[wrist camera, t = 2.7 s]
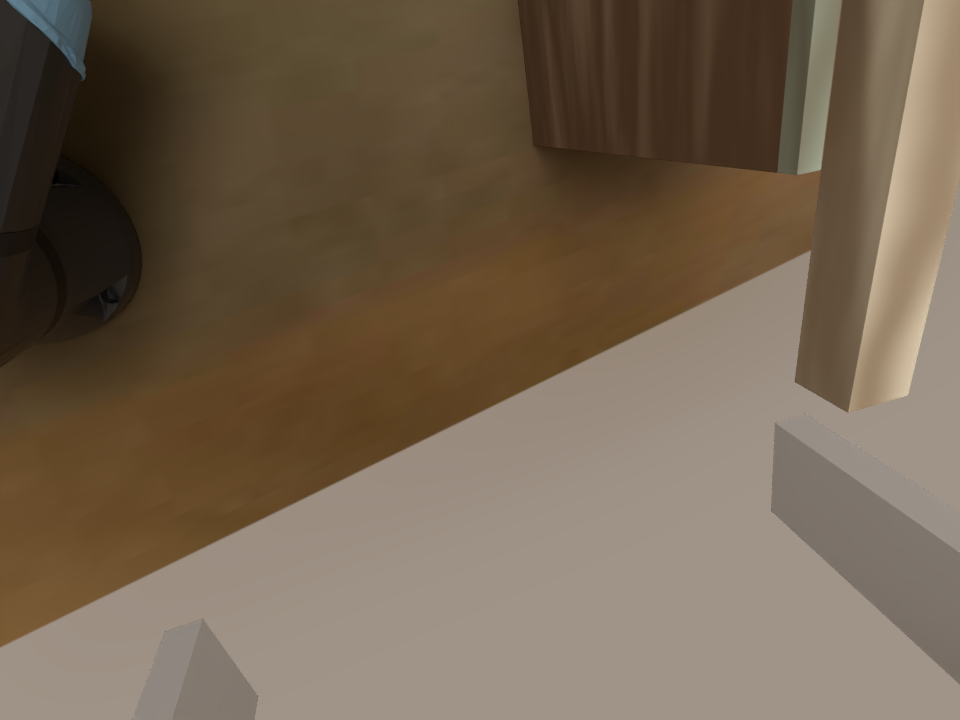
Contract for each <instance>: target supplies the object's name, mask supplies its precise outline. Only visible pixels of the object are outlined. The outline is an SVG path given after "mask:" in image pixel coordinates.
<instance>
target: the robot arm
mask: <svg viewBox="0 0 960 720" xmlns="http://www.w3.org/2000/svg"><path fill="white" fill-rule="evenodd" d="M91 21H92V7H91V3H90V0H0V368H1V367H2V366H3V365H5V364H6V363H8V362H9V361H10V360H12V359H13V358H15V357H16V356H18V355H19V354H20V353H22V352H23V351H25V350H26V349H27V348H29V347H30V346H32V345H33V344H41V343H49V342H56V341H63V340H68V339H72V338H76V337H79V336H82V335H84V334H87V333H89V332H91V331H93V330H95V329H97V328H99V327H100V326H102V325H103V324H105V323H106V322H107V321H109V320H110V319H111V318H112V317H114V316H115V315H116V314H117V313H119V312H120V311H121V310H122V309H123V308H124V307H125V306H126V304H127V303H128V302H129V300H130V299H131V297H132V296H133V294H134V292H135V290H136V287H137V285H138V282H139V278H140V273H141V251H140V245H139V241H138V237H137V234H136V231H135V229H134V227H133V224H132V222H131V220H130V218H129V217H128V215H127V213H126V211H125V210H124V208H123V207H122V206H121V204H120V203H119V202H118V200H117V199H116V198H115V197H114V195H113V194H112V193H111V192H110V191H109V190H108V189H107V188H106V187H105V186H104V185H103V184H102V183H101V182H100V181H98V180H97V179H96V178H95V177H94V176H92V175H91V174H90V173H88V172H87V171H86V170H84V169H83V168H81V167H80V166H78V165H76V164H75V163H73V162H71V161H69V160H68V159H66V158H64V157H62V156H60V152H61V148H62V145H63V141H64V137H65V134H66V130H67V127H68V123H69V119H70V116H71V112H72V108H73V105H74V101H75V97H76V94H77V90H78V87H79V83H80V82H81V81H83V80H84V79H85V76H86V74H85V70H86V68H85V65H84V63H83V60H84V55H85V50H86V45H87V40H88V35H89V30H90V26H91ZM771 502H772V503H771V511H772V512H773V513H774V514H775V515H776V516H777V517H778V518H779V519H781V520H782V521H783V522H784V523H785V524H786V525H787V526H788V527H789V528H790V529H791V530H792V531H793V532H795V533H796V534H797V535H798V536H799V537H800V538H801V539H802V540H803V541H804V542H805V543H807V544H808V545H809V546H810V547H811V548H812V549H813V550H814V551H815V552H816V553H817V554H819V555H820V556H821V557H822V558H823V559H824V560H825V561H826V562H827V563H828V564H829V565H831V566H832V567H833V568H834V569H835V570H836V571H837V572H838V573H839V574H840V575H841V576H842V577H844V578H845V579H846V580H847V581H848V582H849V583H850V584H851V585H852V586H853V587H854V588H855V589H857V590H858V591H859V592H860V593H861V594H862V595H863V596H864V597H865V598H866V599H867V600H869V601H870V602H871V603H872V604H873V605H874V606H875V607H876V608H877V609H878V610H879V611H880V612H882V613H883V614H884V615H885V616H886V617H887V618H888V619H889V620H890V621H891V622H893V623H894V624H895V625H896V626H897V627H898V628H899V629H901V631H902V632H904V634H905V635H907V636H908V637H909V638H910V639H911V640H912V641H913V642H914V643H915V644H917V646H919V647H920V648H921V649H922V650H923V651H924V652H925V653H926V654H927V655H929V656H930V657H931V658H932V659H933V660H934V661H935V662H936V663H937V664H938V665H939V666H940V667H942V669H944V670H945V671H946V672H947V673H948V674H949V675H950V676H951V677H952V678H953V679H954V680H956V681H957V682H958V683H959V684H960V511H958V510H957V509H955V508H954V507H952V506H951V505H949V504H947V503H946V502H944V501H943V500H941V499H940V498H938V497H936V496H935V495H933V494H932V493H930V492H929V491H927V490H925V489H924V488H922V487H921V486H919V485H918V484H916V483H914V482H913V481H911V480H910V479H908V478H906V477H905V476H903V475H902V474H900V473H899V472H897V471H895V470H894V469H892V468H891V467H889V466H888V465H886V464H884V463H882V462H881V461H880V460H878V459H877V458H875V457H873V456H872V455H870V454H869V453H867V452H865V451H864V450H862V449H861V448H859V447H857V446H856V445H855V444H853V443H851V442H850V441H848V440H847V439H845V438H843V437H842V436H840V435H839V434H837V433H836V432H834V431H832V430H831V429H829V428H828V427H826V426H824V425H823V424H821V423H820V422H818V421H817V420H815V419H814V418H812V417H810V416H809V415H807V414H806V413H802V414H799V415H796V416H793V417H790V418H787V419H785V420H782V421H779V422H776V423H775V432H774V456H773V478H772V501H771ZM257 700H258V695H257V694H256V693H255V691H254V690H253V688H252V687H251V685H250V684H249V683H248V682H247V680H246V678H245V677H244V676H243V674H242V673H241V672H240V670H239V669H238V667H237V666H236V664H235V663H234V662H233V660H232V659H231V657H230V656H229V655H228V653H227V652H226V651H225V649H224V648H223V646H222V645H221V644H220V642H219V641H218V639H217V638H216V636H215V635H214V634H213V632H212V631H211V629H210V628H209V627H208V626H207V624H206V622H205V621H204V620H203V619H200V620H197V621H194V622H191V623H188V624H186V625H182V626H179V627H177V628H174V629H171V630H168V631H165V632H164V635H163V638H162V640H161V643H160V646H159V649H158V651H157V654H156V657H155V659H154V662H153V665H152V667H151V670H150V673H149V676H148V678H147V681H146V683H145V686H144V689H143V692H142V694H141V697H140V700H139V702H138V705H137V708H136V710H135V713H134V716H133V718H132V720H254V717H255V712H256V706H257Z"/></svg>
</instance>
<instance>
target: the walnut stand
mask: <svg viewBox="0 0 960 720" xmlns="http://www.w3.org/2000/svg"><path fill="white" fill-rule="evenodd" d="M842 2H843V0H518V5H519V15H520V24H521V33H522V42H523V52H524V61H525V70H526V79H527V89H528V98H529V107H530V116H531V126H532V135H533V144H534V145H536V146H545V147H554V148H563V149H571V150H580V151H589V152H598V153H607V154H616V155H625V156H633V157H642V158H651V159H660V160H669V161H678V162H687V163H696V164H704V165H713V166H722V167H731V168H740V169H749V170H758V171H766V172H775V173H784V174H793V175H799V174H804V173H808V172H813V171H817V170H821V163H822V161H823V153H824V145H825V137H826V129H827V121H828V113H829V105H830V97H831V89H832V81H833V73H834V65H835V57H836V49H837V42H838V34H839V26H840V18H841V10H842Z"/></svg>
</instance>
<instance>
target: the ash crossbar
mask: <svg viewBox="0 0 960 720" xmlns="http://www.w3.org/2000/svg"><path fill="white" fill-rule="evenodd" d="M959 181H960V0H843V2H842V10H841V18H840V26H839V34H838V42H837V49H836V57H835V65H834V73H833V81H832V89H831V97H830V105H829V113H828V121H827V129H826V137H825V145H824V153H823V161H822V169H821V177H820V185H819V192H818V200H817V208H816V216H815V224H814V232H813V240H812V248H811V257H810V264H809V272H808V280H807V288H806V296H805V304H804V312H803V320H802V328H801V335H800V343H799V351H798V360H797V367H796V375H795V382H796V383H797V384H799V385H801V386H803V387H804V388H806V389H808V390H810V391H811V392H813V393H815V394H817V395H818V396H820V397H822V398H823V399H825V400H827V401H829V402H830V403H832V404H834V405H836V406H837V407H839V408H841V409H843V410H844V411H846V412H848V413H849V412H853V411H856V410H859V409H863V408H866V407H869V406H873V405H876V404H880V403H883V402H887V401H890V400H893V399H896V398H900V397H904V396H907V395H908V392H909V388H910V384H911V380H912V376H913V372H914V368H915V363H916V359H917V355H918V351H919V347H920V343H921V338H922V334H923V330H924V326H925V322H926V318H927V314H928V310H929V305H930V301H931V297H932V293H933V288H934V284H935V281H936V276H937V272H938V268H939V264H940V259H941V256H942V252H943V247H944V243H945V239H946V235H947V231H948V227H949V223H950V219H951V214H952V210H953V206H954V202H955V197H956V194H957V189H958V185H959Z"/></svg>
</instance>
